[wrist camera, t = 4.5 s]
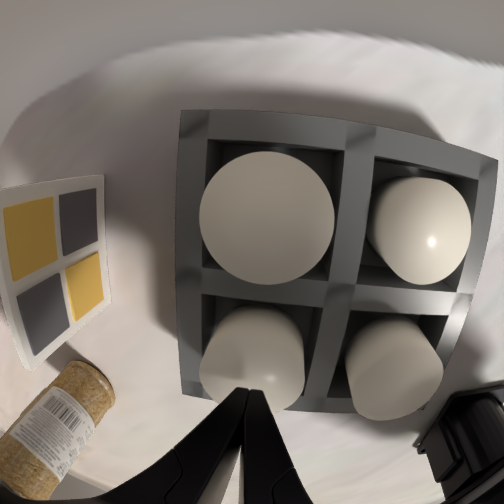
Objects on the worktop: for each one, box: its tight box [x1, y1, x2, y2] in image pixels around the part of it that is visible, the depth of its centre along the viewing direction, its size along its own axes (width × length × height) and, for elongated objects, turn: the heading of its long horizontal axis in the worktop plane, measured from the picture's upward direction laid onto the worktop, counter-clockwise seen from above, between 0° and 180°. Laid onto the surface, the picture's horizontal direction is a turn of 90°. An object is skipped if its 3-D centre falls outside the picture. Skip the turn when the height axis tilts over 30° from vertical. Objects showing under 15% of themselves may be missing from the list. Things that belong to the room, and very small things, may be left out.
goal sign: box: [0, 175, 111, 371], centre depth 11 cm, size 1×7×7 cm, turn 177°
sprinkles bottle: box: [0, 361, 115, 500], centre depth 11 cm, size 5×5×14 cm
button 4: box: [199, 152, 334, 285], centre depth 9 cm, size 4×4×2 cm
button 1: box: [344, 315, 443, 421], centre depth 10 cm, size 4×4×2 cm
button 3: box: [199, 303, 305, 413], centre depth 10 cm, size 4×4×2 cm
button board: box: [175, 110, 498, 413], centre depth 11 cm, size 12×12×3 cm
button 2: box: [365, 176, 471, 285], centre depth 10 cm, size 4×4×2 cm
